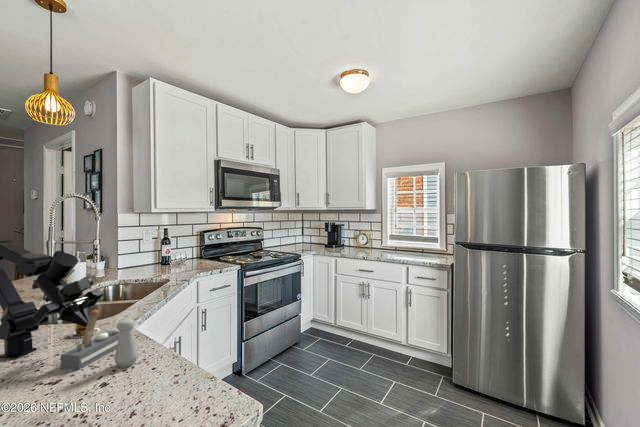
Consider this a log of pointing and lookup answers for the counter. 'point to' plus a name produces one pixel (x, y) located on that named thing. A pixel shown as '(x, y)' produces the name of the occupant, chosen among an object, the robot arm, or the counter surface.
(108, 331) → the block
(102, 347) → the console
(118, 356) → the salt shaker
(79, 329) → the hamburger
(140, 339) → the counter surface
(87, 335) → the ash lever
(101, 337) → the white button
